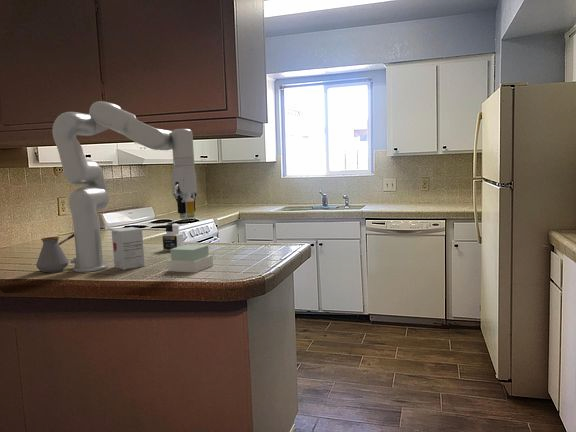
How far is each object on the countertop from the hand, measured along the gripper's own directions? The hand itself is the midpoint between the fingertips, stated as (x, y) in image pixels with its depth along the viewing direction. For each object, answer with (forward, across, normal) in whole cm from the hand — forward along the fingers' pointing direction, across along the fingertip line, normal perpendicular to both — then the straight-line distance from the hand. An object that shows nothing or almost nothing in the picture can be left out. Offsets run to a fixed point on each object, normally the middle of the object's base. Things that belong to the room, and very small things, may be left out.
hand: (186, 211), depth 185 cm
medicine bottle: (+22, -36, -33) cm, 53 cm away
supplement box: (+22, +2, -27) cm, 34 cm away
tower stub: (+21, 0, 0) cm, 21 cm away
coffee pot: (+22, +10, -52) cm, 57 cm away
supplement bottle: (+3, 0, 0) cm, 3 cm away
